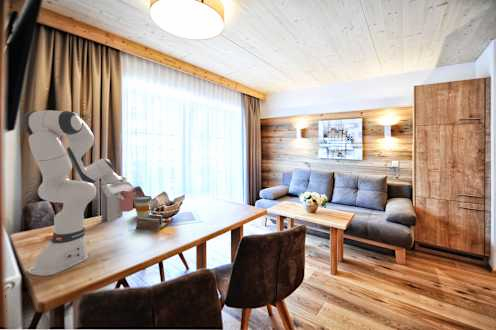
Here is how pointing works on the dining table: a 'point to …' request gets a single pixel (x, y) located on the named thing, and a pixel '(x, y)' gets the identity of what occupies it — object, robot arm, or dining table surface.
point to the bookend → (156, 217)
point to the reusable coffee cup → (142, 206)
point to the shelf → (149, 224)
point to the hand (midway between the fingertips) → (127, 198)
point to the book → (126, 200)
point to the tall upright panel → (110, 207)
